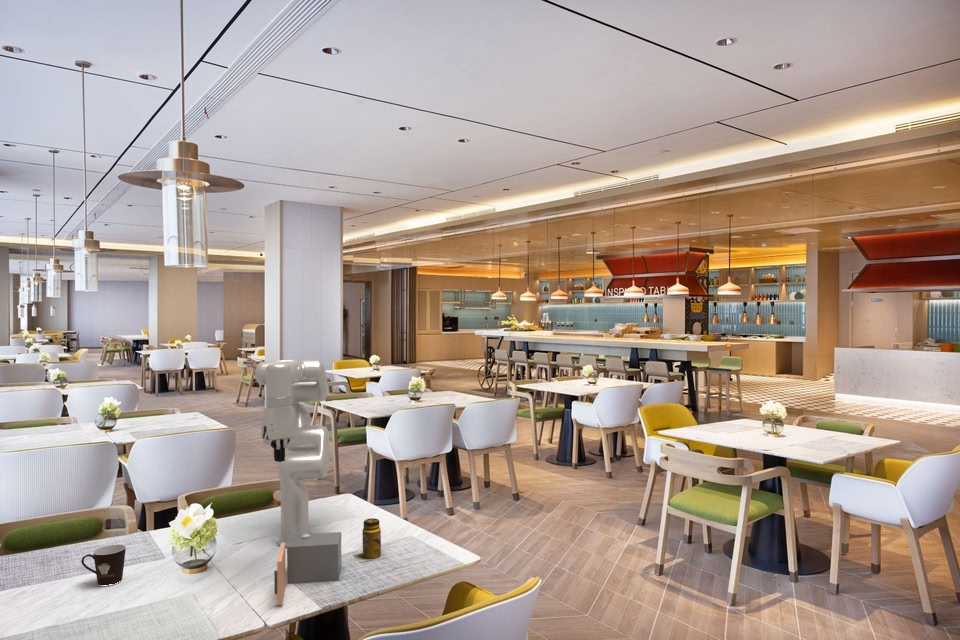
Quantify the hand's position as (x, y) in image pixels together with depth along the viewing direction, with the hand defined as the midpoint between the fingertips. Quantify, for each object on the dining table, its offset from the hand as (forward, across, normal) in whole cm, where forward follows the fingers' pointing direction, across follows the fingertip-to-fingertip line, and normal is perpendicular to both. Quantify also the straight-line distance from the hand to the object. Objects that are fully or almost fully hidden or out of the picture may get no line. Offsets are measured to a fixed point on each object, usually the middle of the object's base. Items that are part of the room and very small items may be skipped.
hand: (279, 460), depth 194 cm
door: (+35, +10, +14) cm, 39 cm away
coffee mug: (+35, +35, -38) cm, 63 cm away
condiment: (+35, -25, +13) cm, 45 cm away
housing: (+35, -5, +10) cm, 37 cm away
